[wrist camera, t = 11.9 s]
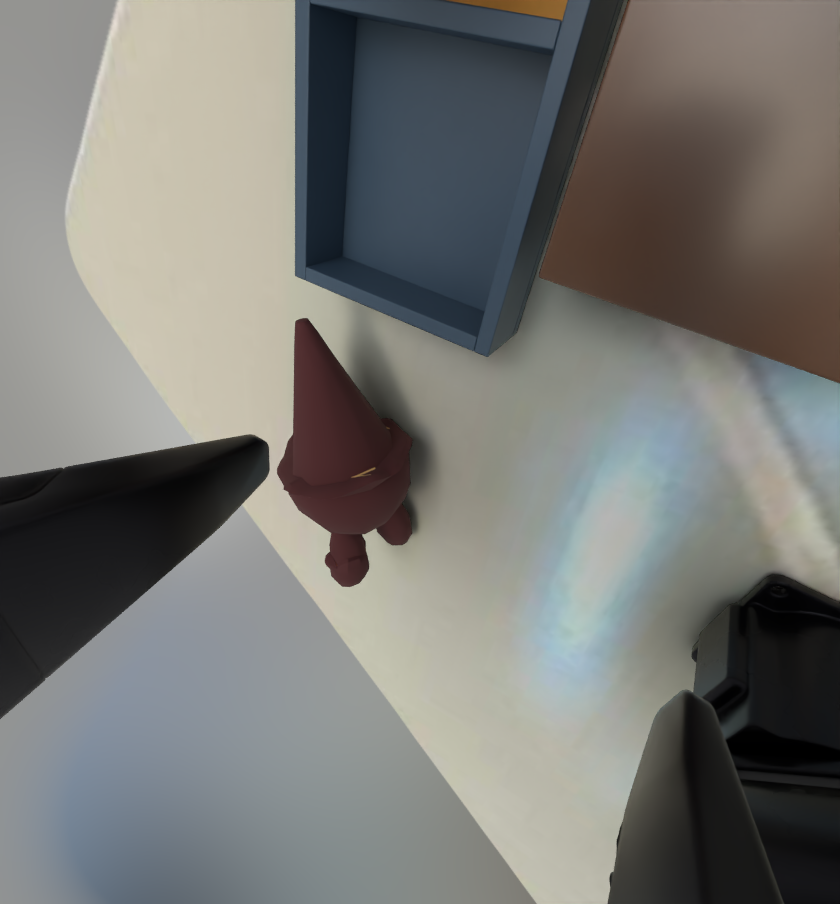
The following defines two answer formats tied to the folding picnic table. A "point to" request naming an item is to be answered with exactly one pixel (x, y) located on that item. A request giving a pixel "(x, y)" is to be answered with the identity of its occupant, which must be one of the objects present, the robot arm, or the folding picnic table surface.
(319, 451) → the maroon cone-shaped figurine
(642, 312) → the brown low table
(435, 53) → the blue divided tray
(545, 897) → the folding picnic table surface
